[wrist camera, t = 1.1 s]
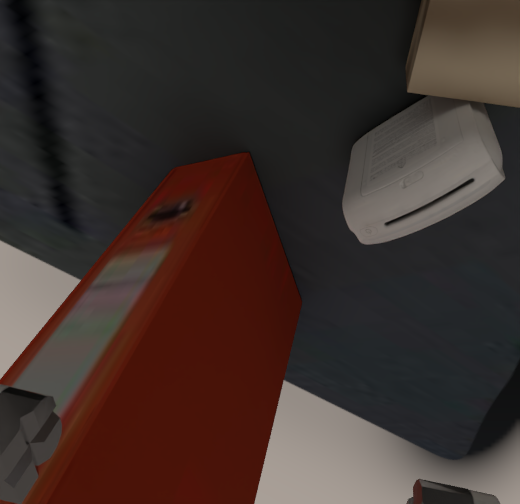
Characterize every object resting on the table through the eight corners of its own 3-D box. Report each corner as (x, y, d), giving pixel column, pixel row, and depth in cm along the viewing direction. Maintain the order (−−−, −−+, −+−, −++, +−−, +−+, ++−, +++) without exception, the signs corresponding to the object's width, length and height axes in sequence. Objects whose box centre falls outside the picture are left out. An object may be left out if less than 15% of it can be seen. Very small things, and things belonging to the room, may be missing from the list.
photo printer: (372, 182, 42) (365, 270, 32) (344, 143, 40) (328, 223, 31) (492, 116, 37) (527, 197, 27) (465, 68, 35) (492, 135, 25)
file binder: (232, 307, 54) (92, 668, 29) (169, 168, 45) (-109, 512, 20) (302, 300, 51) (214, 693, 26) (249, 150, 43) (41, 524, 17)
